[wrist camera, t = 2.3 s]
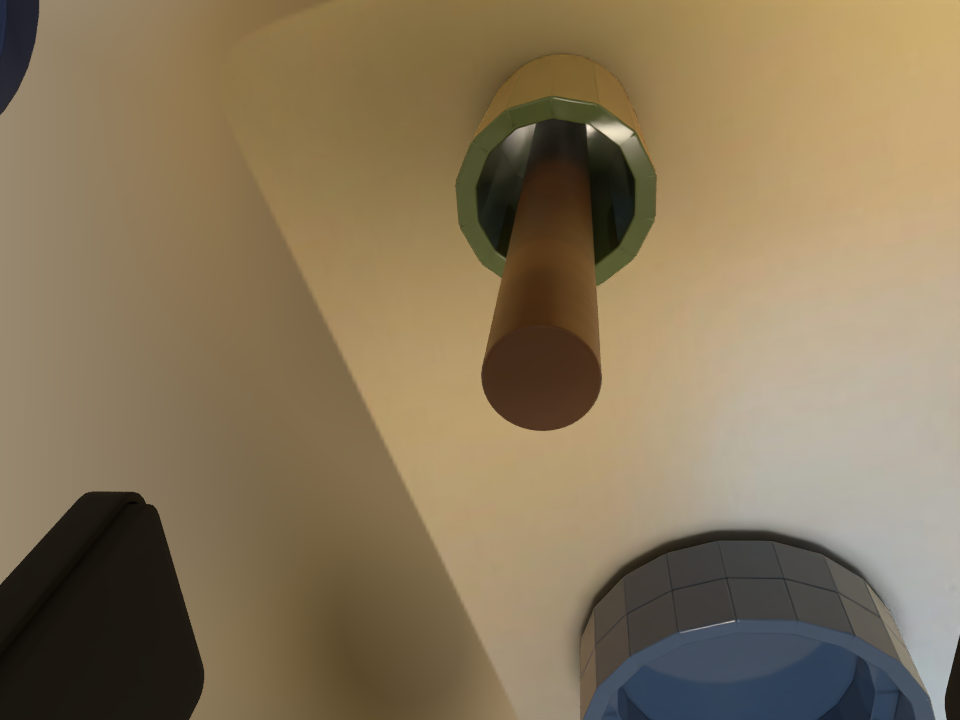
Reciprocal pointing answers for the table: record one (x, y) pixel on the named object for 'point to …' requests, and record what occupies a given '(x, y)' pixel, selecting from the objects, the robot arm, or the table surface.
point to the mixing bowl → (746, 642)
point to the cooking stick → (548, 291)
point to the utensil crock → (611, 152)
